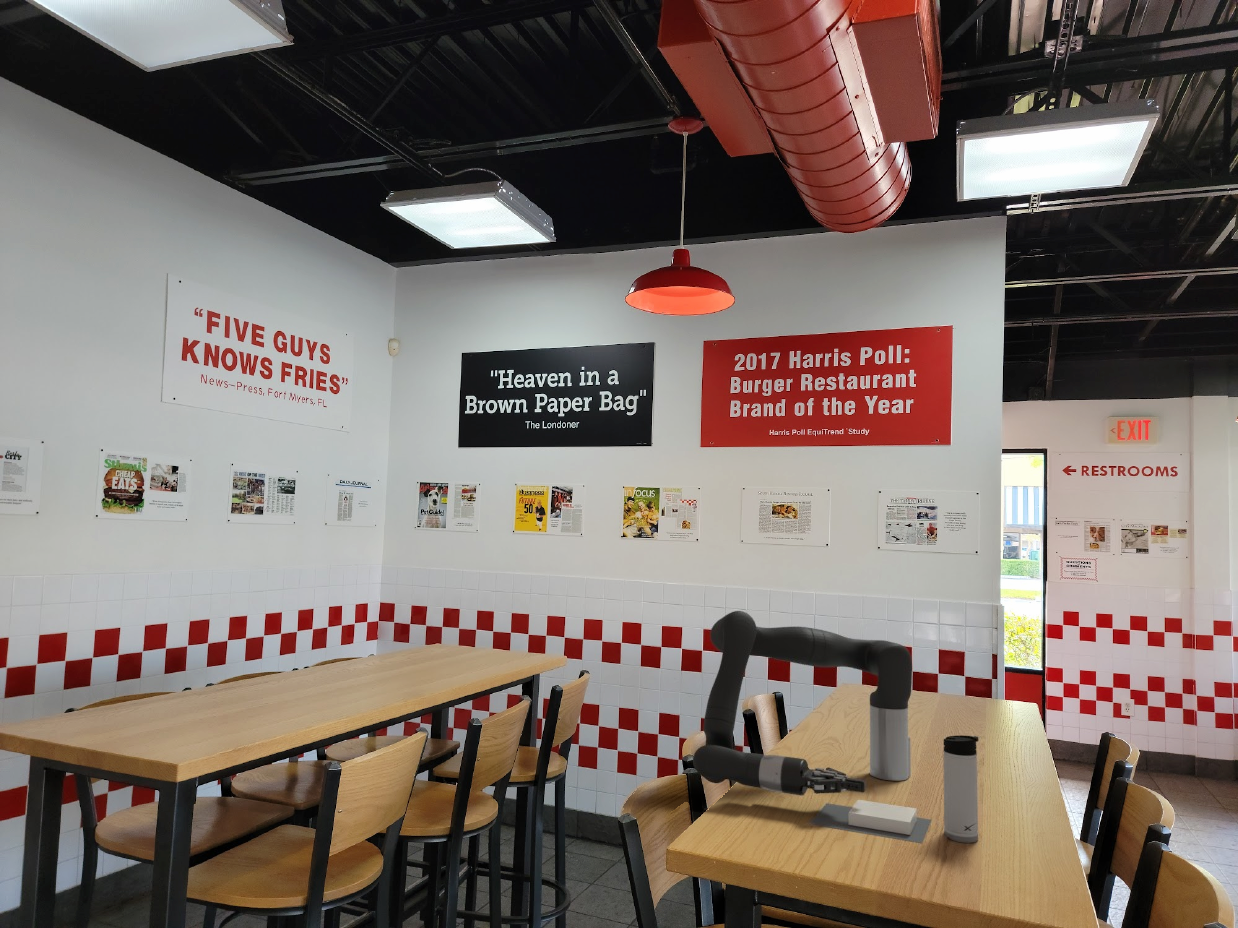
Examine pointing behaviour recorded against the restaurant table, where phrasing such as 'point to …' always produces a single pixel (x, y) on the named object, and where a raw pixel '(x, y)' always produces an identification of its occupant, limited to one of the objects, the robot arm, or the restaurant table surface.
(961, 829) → the travel mug
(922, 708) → the restaurant table surface
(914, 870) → the restaurant table surface
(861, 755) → the restaurant table surface
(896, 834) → the mat
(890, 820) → the tile
